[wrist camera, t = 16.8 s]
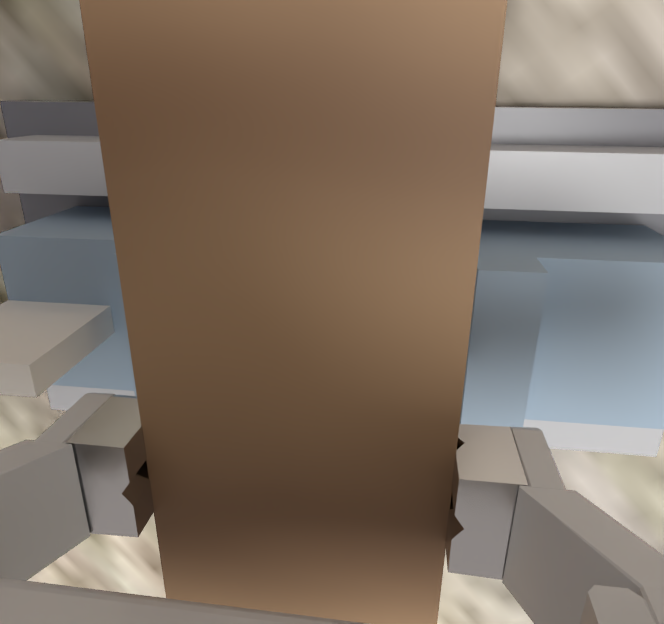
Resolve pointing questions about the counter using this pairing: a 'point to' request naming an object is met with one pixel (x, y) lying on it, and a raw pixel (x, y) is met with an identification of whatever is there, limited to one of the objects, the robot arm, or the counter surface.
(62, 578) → the counter surface
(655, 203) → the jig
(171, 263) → the brown long rectangular bar
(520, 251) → the pale blue tabbed body
